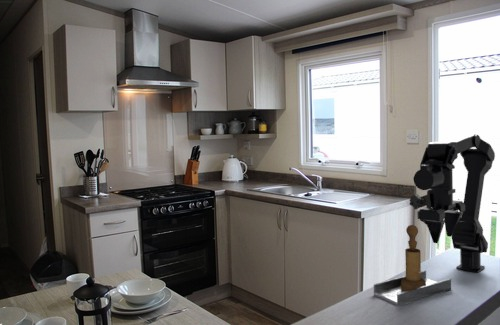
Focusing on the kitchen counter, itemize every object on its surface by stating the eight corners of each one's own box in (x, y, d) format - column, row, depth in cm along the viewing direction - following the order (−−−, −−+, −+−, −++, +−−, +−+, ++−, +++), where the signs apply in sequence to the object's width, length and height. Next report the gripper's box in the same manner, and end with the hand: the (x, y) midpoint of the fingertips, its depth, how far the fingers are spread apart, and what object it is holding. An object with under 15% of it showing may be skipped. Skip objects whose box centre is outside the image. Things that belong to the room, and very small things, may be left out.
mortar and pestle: (424, 295, 114) (422, 229, 113) (399, 291, 118) (397, 227, 116) (427, 286, 120) (426, 223, 119) (403, 283, 123) (401, 222, 122)
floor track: (424, 280, 127) (424, 270, 127) (451, 289, 119) (451, 279, 119) (373, 294, 118) (373, 284, 118) (398, 305, 110) (398, 294, 110)
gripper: (428, 180, 134) (429, 229, 135) (399, 188, 121) (400, 242, 123) (465, 182, 126) (466, 234, 127) (438, 190, 113) (439, 248, 114)
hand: (442, 239), depth 123 cm, fingers open, 9 cm apart
